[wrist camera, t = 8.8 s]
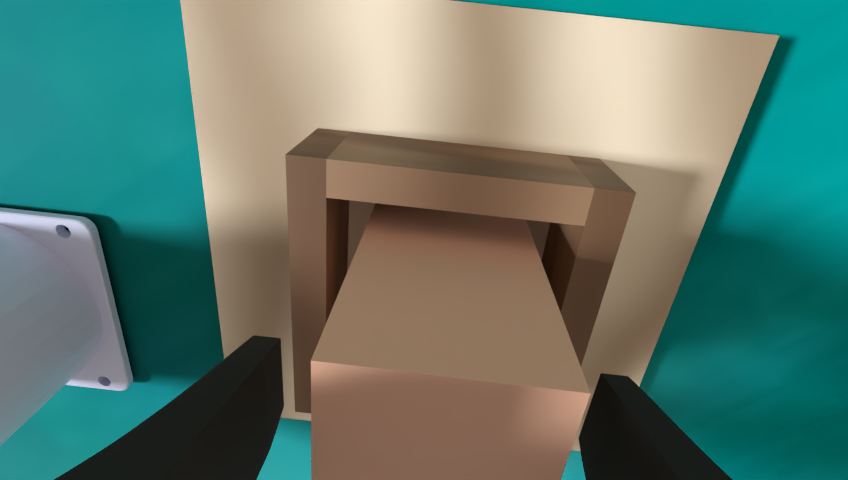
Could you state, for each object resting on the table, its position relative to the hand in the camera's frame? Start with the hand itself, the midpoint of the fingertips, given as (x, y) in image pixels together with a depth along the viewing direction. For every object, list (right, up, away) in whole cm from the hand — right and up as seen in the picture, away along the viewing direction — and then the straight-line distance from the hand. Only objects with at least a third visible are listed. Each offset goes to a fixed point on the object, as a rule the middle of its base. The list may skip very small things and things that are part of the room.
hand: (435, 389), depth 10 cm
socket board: (0, +3, +6) cm, 7 cm away
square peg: (0, +3, +5) cm, 6 cm away
